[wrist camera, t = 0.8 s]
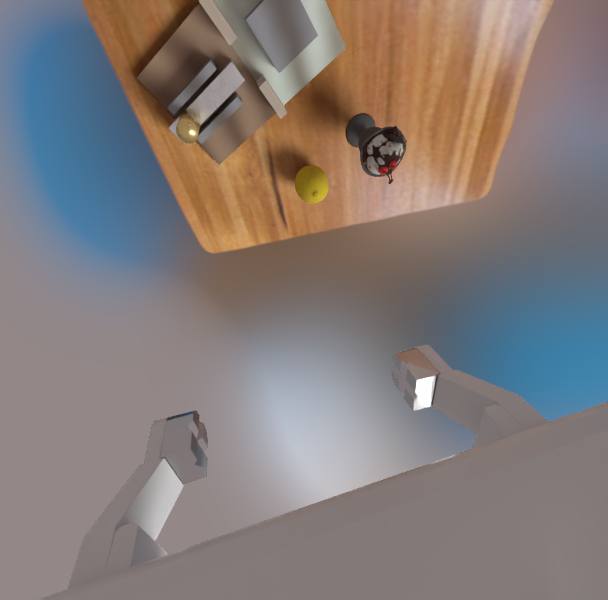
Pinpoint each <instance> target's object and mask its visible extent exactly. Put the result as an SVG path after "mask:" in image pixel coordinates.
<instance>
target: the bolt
mask: <svg viewBox="0 0 608 600" xmlns="http://www.w3.org/2000/svg"><path fill="white" fill-rule="evenodd" d="M244 81H245V78H244V76H243V75H242V73H241V72H240V71H239V69H238V68H237V66H236V65H235V64H234V62H233V61H232V59H231V60H230V61H229V62H228V64H227V65H226V66H225V67H224V68H223V69H222V70H221V71H220V72H219V73H218V74H217V75H216V76H215V77H214V78H213V79H212V80H211V82H210V83H209V84H208V85H207V86H206V87H205V88H204V89H203V90H202V91H201V92H200V93H199V94H198V95H197V96H196V97H195V99H194V100H193V101H192V102H191V103H190V104H189V105H188V106H187V107H186V108H185V109H184V110H183V111H182V112H181V113H180V114H179V115H178V117H177V118H176V119H175V120H174V121H173V122H172V123H171V124H170V126H169V129H170V130H171V131H172V132H173V133H174V134H175V135H176V136H177V137H178V138H179V139H180V140H181V141H182V142H183V143H184V142H185V143H194V142H195V141H196V140H197V138H198V134H199V129H200V125H201V124H202V123H203V122H204V121H205V120H206V119H207V118H208V117H209V116H210V115H211V114H212V113H213V112H214V111H215V110H216V109H217V108H218V107H219V106H220V105H221V104H222V103H223V102H224V101H225V100H226V99H227V98H228V97H229V96H230V95H231V94H232V93H233V92H234V91H235V90H236V89H237V88H238V87H239V86H240V85H241V84H242V83H243V82H244Z"/></svg>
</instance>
